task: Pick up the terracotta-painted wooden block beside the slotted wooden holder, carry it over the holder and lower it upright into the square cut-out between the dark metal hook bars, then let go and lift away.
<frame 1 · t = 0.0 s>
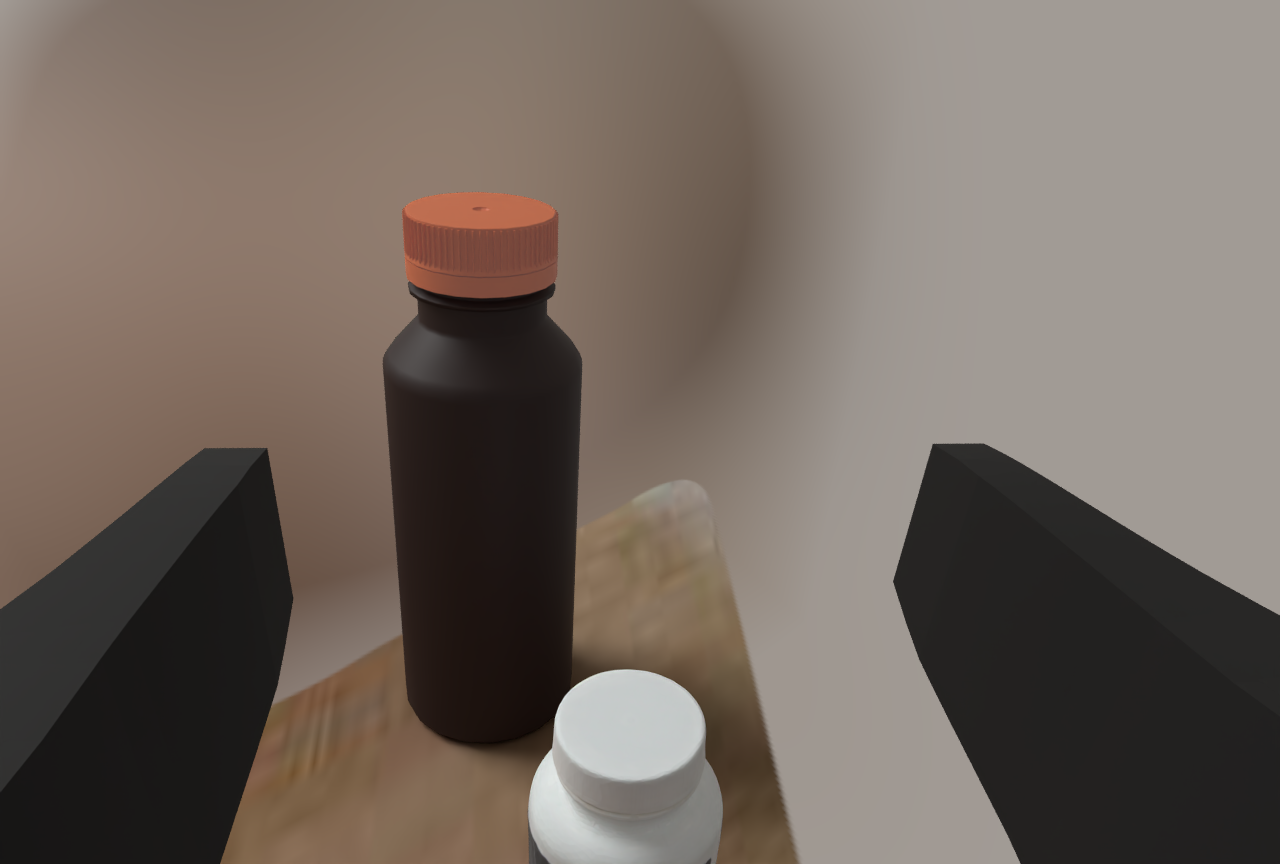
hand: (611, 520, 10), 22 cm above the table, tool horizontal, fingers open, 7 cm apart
vinegar: (490, 690, 38), on the table
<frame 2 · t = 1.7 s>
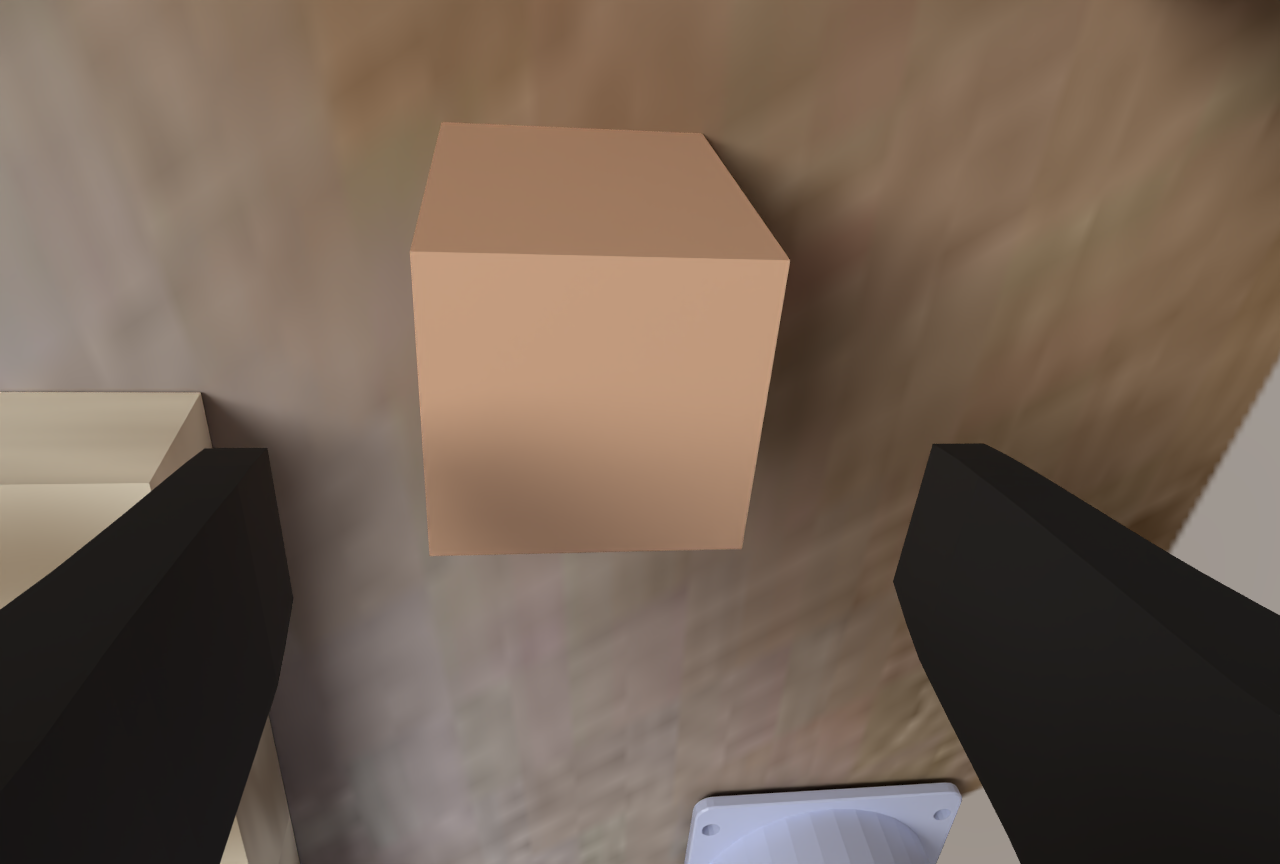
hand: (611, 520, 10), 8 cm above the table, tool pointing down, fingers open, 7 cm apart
block: (570, 251, 17), on the table
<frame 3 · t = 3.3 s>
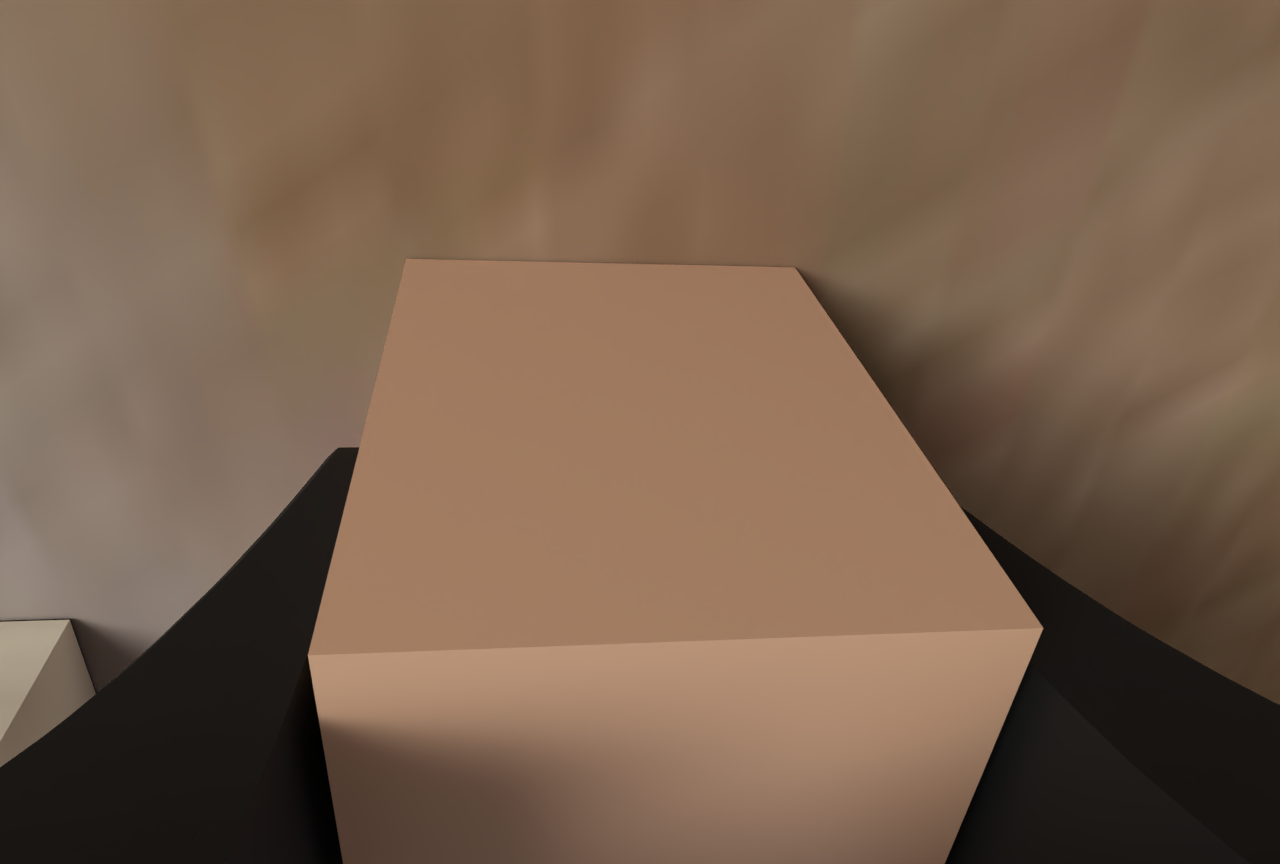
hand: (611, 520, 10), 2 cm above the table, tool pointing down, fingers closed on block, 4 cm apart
block: (597, 428, 12), on the table, touching gripper
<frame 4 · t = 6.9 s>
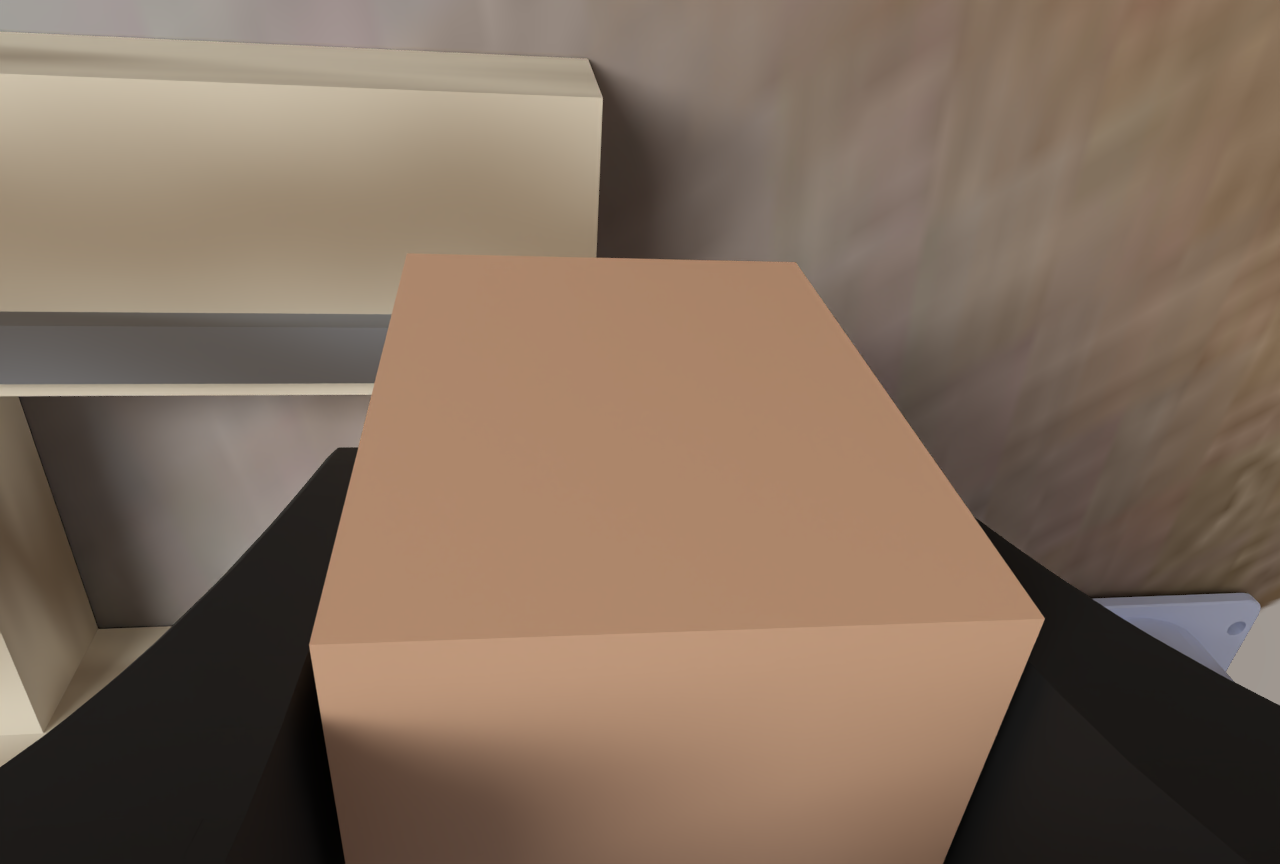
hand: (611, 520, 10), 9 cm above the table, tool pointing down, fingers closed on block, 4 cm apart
block: (597, 423, 12), point 7 cm above the table, touching gripper
slotted wooden holder: (250, 486, 20), on the table
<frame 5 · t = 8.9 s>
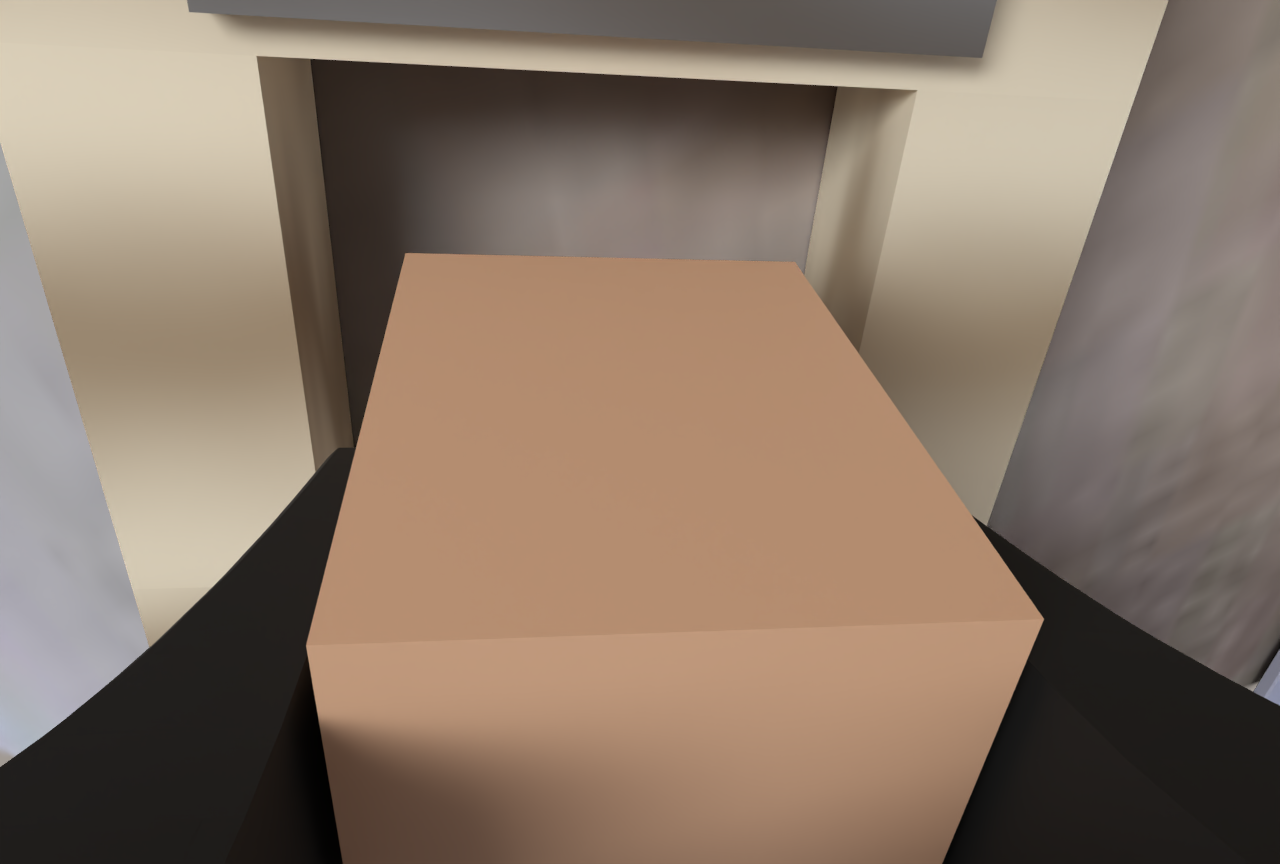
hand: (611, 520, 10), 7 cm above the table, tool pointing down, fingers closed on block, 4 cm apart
block: (596, 423, 12), point 5 cm above the table, touching gripper
slotted wooden holder: (576, 283, 16), on the table
when the fingers open (4 cm above the table, at t = 10.3 s): block drops 2 cm, resting in slotted wooden holder.
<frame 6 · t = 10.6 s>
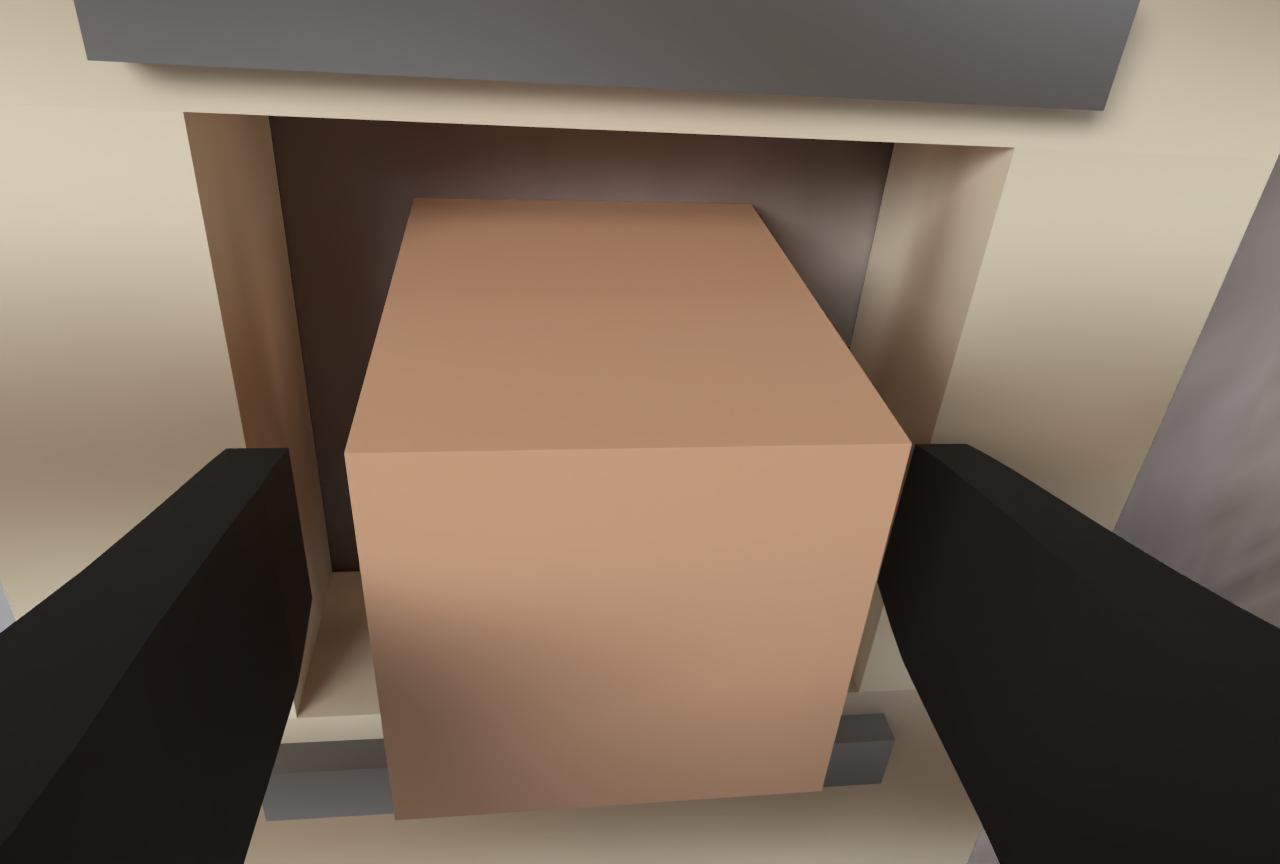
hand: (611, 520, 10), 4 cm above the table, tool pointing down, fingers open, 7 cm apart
block: (582, 350, 13), resting in slotted wooden holder
slotted wooden holder: (586, 356, 13), on the table
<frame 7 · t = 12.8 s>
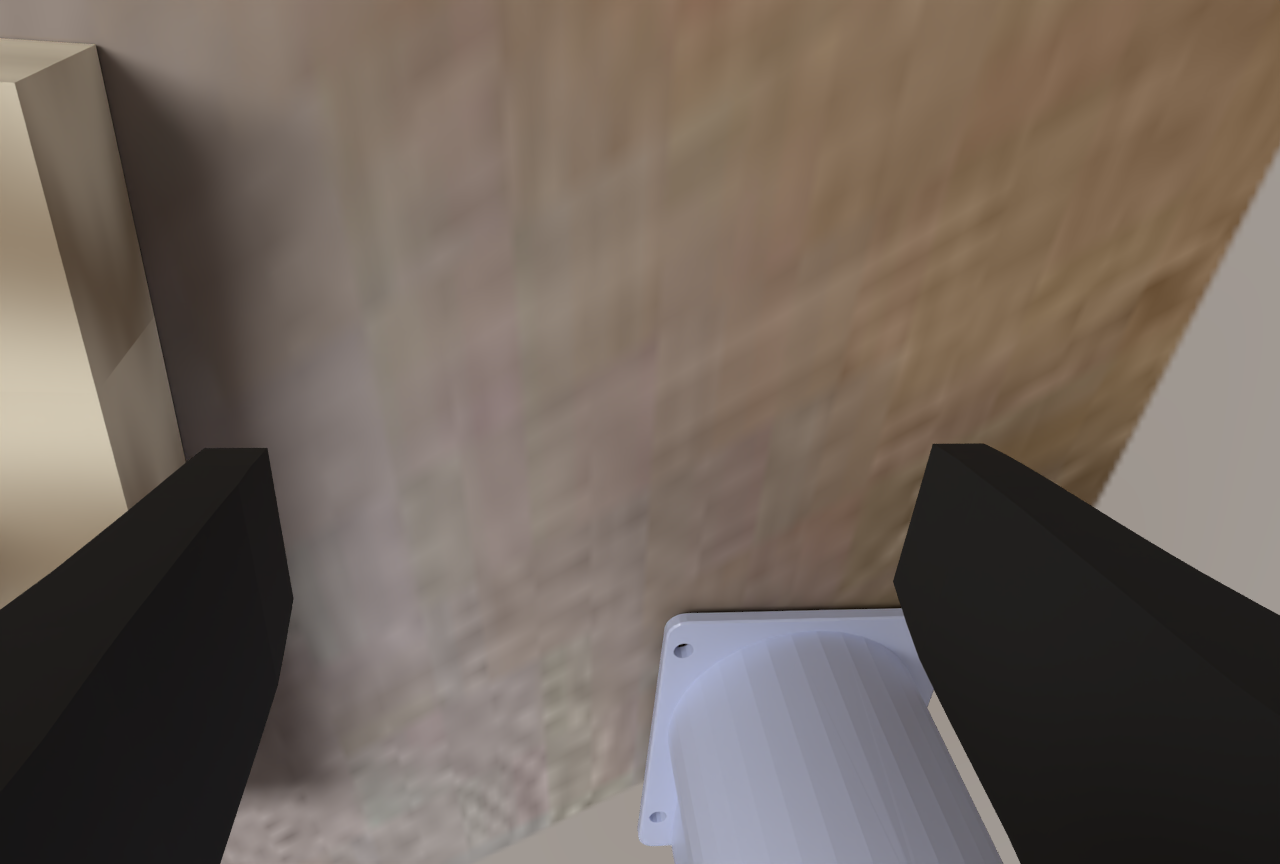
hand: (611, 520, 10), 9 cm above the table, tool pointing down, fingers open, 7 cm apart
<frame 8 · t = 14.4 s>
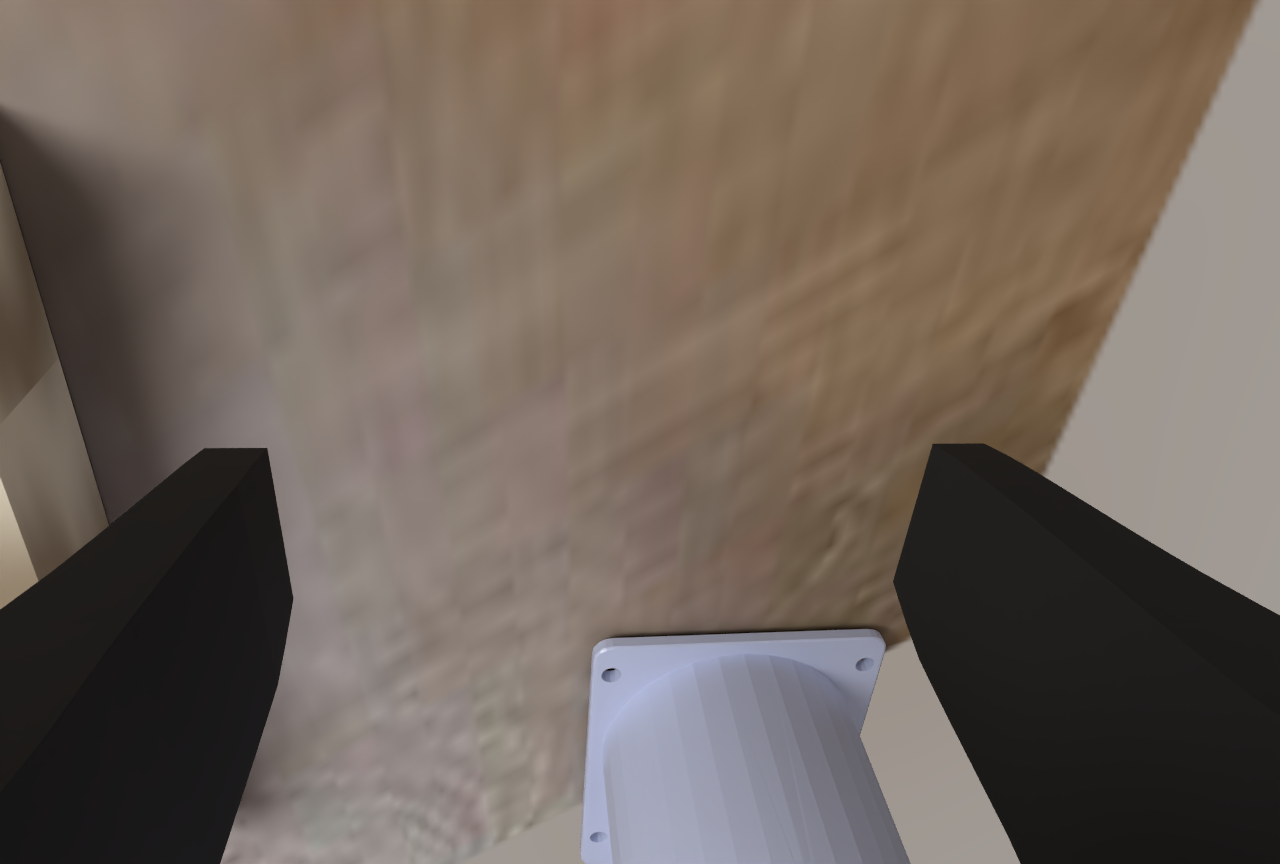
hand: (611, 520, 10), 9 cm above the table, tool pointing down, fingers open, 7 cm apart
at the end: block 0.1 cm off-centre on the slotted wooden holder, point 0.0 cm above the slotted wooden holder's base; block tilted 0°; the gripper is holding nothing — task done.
